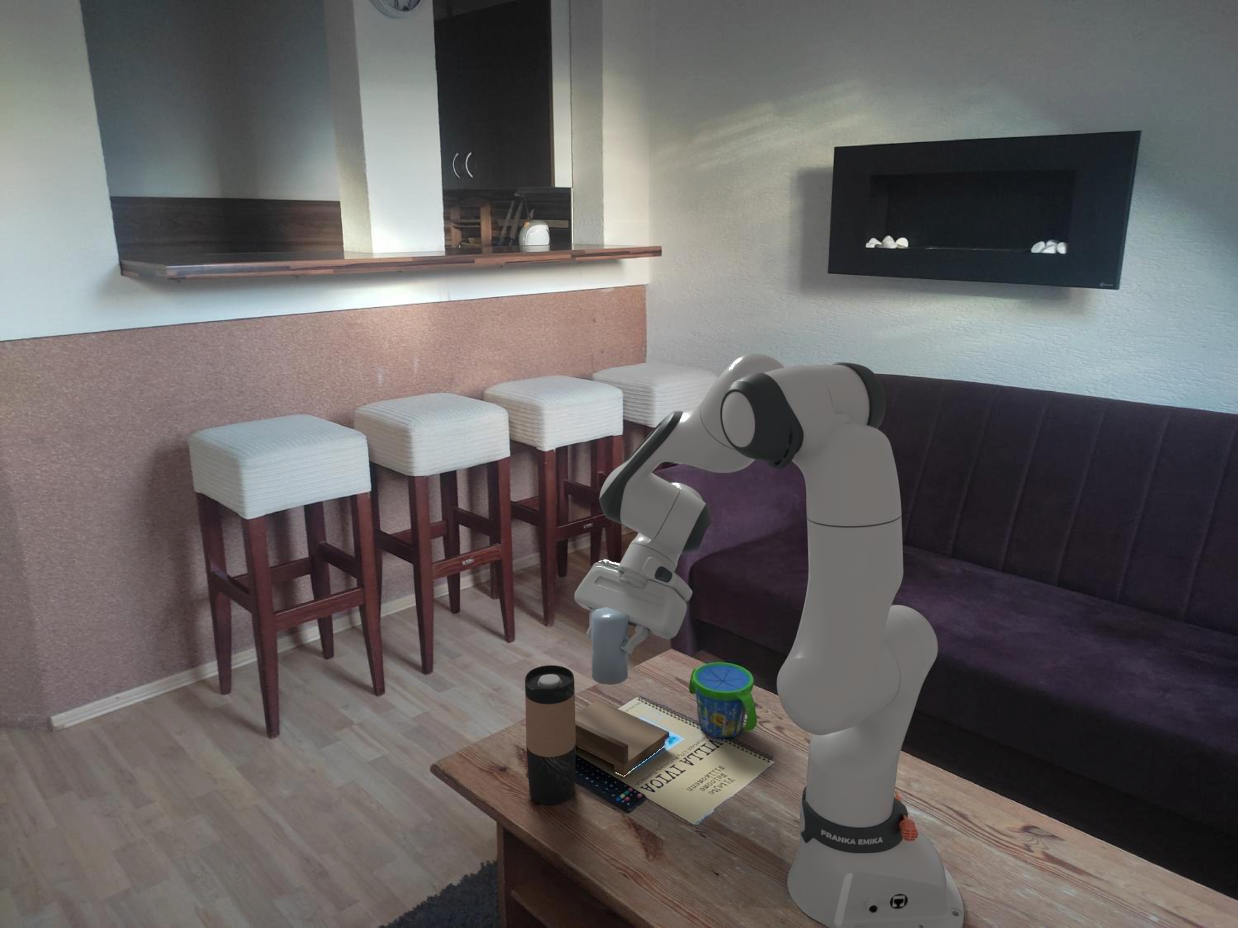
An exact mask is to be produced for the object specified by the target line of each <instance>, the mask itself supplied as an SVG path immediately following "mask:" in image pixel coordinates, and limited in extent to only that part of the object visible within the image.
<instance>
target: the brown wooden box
mask: <svg viewBox="0 0 1238 928" xmlns="http://www.w3.org/2000/svg"><path fill="white" fill-rule="evenodd" d="M575 730H576V748H579V749H582V750H584V751H585V752H588V753H589V754H590V755H591V754H592V755H593V756H595V757H598V758H600V759H601V760H603V761H606V762H608V763H609V764H612V765H614V766H613V767H614V769H613V771H615V772H617V773H619V774H621V775H623V776H624V775H626V774H627V773H628V772H629V771H631V770H632V769H633V768H635V767H636V766H638V765H639V764H641V763H642V762H643V761H645V760H646V759H648V758H649V757H650V756H652V755H653V754H654V753H656V752H657V751H658V750H659V749H661V748H662V747H663V746H664V745H665V746H666V744H665V743H666V740H667V739H669V738H670V731H669V730H666V729H663V728H662V727H660V726H657V725H655V724H652V723H650V722H649V721H646V720H644V719H641V718H639V717H637V716H635V715H632V714H630V713H628V712H626V711H624V710H622V709H619V708H617V707H614V706H612V705H610V704H608V703H605V702H603V701H601V700H599V699H597V700H595V701H594V702H592V703H591V704H589V705H587V706H586V707H583V708H582V709H580V710H579V711H578V712H575Z"/></svg>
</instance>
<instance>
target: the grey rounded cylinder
mask: <svg viewBox="0 0 1238 928" xmlns="http://www.w3.org/2000/svg"><path fill="white" fill-rule="evenodd" d="M624 639H626V640H628V639H629V625H628V615H627V614H624V613H622V612H619V611H616V610H613V609H611V608H608V607H604V608H600V609H597V610H595V611H594V612H593V613H592V639H591V678H592V680H593V681H595V682H597V683H599V684H602V685H609V686H610V685H611V686H612V685H618V684H622V683H623V682H625V681H626V680H627V679H628V676H629V670H628V669H629V654H627V653H625V652H623V651H622V650H620V646H621V644H622V642H623V640H624Z"/></svg>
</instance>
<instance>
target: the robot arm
mask: <svg viewBox="0 0 1238 928" xmlns="http://www.w3.org/2000/svg"><path fill="white" fill-rule="evenodd" d="M886 401H887V400H886V394H885V390H884V387H883V384H882V382H881V381H880V378H879V377H878V376H877V374H876V373H874V371H873V370H872V369H870V368H868V367H867V366H864V365H861V364H859V363H854V362H853V363H852V362H846V361H842V362H841V361H840V362H839V361H838V362H833V363H832V362H831V363H829V364H811V365H804V364H797V365H791V366H786V367H785V366H784V365H783V364H782V363H780V361H778V360H777V359H775V358H774V357H772V356H770V355H767V354H763V353H755V352H754V353H747V354H743V355H741V356H739V357H737V358H736V359H735V360H733V362H731V363H730V364H728V366H727V367H726V368H725V369H724V370H723V372H722V373H721V374H720V375H719V376H718V378H717V379H716V380H715V381H714V382H713V384H712V386H711V387H710V388H709V389H708V391H707V393H706V394H705V396H704V398H703V399H702V401H701V403H700V404H698V405H697V406H695V407H693V408H691V409H688V410H684V411H681V410H680V411H679V410H678V411H672V412H671V413H669V414H668V415H667V416H665V417H664V418H663V419H662V420H661V421H660V422H659V423H658V424H657V425H656V426H655V427H654V428H653V429H652V430H651V431H650V432H649V434H648V435H647V436H646V437H645V438H644V439H643V440H642V442H641V443H640V444H639V445H638V446H637V447H636V448H635V449H634V450H633V451H632V453H631V454H630V455H629V456H628V457H627V458H626V459H625V460H624V461H622V463H620V464H619V466H618V467H616V468H615V469H614V470H613V471H611V473H609V475H608V476H607V478H606V479H605V481H604V483H602V484H603V485H602V487H601V489H600V493H599V497H598V501H599V505H600V507H601V511H602V513H603V515H604V516H605V518H606V519H607V520H610V521H612V522H615V523H617V524H620V525H622V526H625V527H627V528H629V529H631V530H633V531H635V532H637V535H636V536H635V537H634V538H633V540H632V541H631V542H630V544H629V545H628V548H627V549H626V551H625V553H624V555H623V557H622V559H621V561H620V562H615V561H611V560H610V559H607V558H605V559H603V560H598V561H597V562H595V563H593V565H592V566H591V568H590V570H589V572H587V574H586V576H584V578H583V579H582V581H581V582H580V584H579V585H578V587H577V589H576V590H575V592H574V601H575V602H576V603H577V604H578V606H580V607H581V608H583V609H585V610H587V611H590V612H589V614H588V616H589V617H588V618H589V620H588V621H589V622H588V624H589V627H587V630H586V632H585V636H586V637H587V638H589V640H592V613H593V612H594V611H595V610H597V609H600V608H604V607H608V608H611V609H613V610H616V611H619V612H622V613H624V614H627V615H628V626H630V627H633V628H634V632H635V633H634V634H633V635H631V637H630V638H628V640H626V639H624V640H623V642H622V644H621V646H620V650H622V651H623V652H625V653H627V654H628V655H632V654H633V651H634V650H635V649H636V646H638V645H640V644H641V643H642V642H643V641H645V640H646V639H647V637H648V636H649V633H650V634H652V635H655V636H657V637H659V638H662V639H664V640H668V641H669V640H671V639H673V638H675V637H676V636H677V635H678V633H679V631H680V628H681V627H682V625H683V622H684V619H685V617H686V614H687V611H688V610H687V609H688V605H687V603H686V602H688V601H690V600H691V598H692V595H693V590H692V589H691V588H690V586H689V585H688V584H687V583H686V582H685V580H684V579H682V578H681V577H680V576H679V574H677V573H676V572H675V571H676V569H677V566H678V562H679V558H680V556H681V555H687V554H690V553H694V552H697V551H699V550H700V547H701V543H702V542H703V539H704V536H705V534H706V532H707V530H708V529H709V527H710V525H711V524H712V523H713V518H712V514H711V510H710V508H709V505H708V504H707V503H706V502H705V501H704V500H703V497H702V496H701V494H700V493H699V492H698V491H697V490H696V489H694V488H693V487H691V486H689V485H687V484H685V483H680V482H669V481H667V480H665V479H663V478H662V477H660V476H658V475H656V474H655V473H653V472H654V470H655V469H657V467H658V466H659V465H660V464H662V463H666V462H667V463H668V462H669V463H677V464H682V465H688V466H691V467H695V468H698V469H701V470H703V471H704V470H705V471H707V472H711V473H717V474H718V473H719V474H725V473H726V474H727V473H729V474H730V473H734V472H738V471H741V470H743V469H746V468H747V467H749V466H750V465H751V464H752V463H753V462H755V461H759V462H764V463H766V464H767V465H769V466H770V467H771V468H774V469H775V470H776V469H777V470H779V471H780V470H783V469H785V468H787V466H789V465H790V464H791V462H793V464H795V465H796V466H797V467H798V469H799V471H801V473H802V475H803V478H804V482H805V492H806V493H805V495H806V497H805V498H806V502H805V505H806V522H807V523H806V525H807V550H808V553H807V555H808V556H807V557H808V579H807V588H806V594H805V599H804V605H803V608H802V613H801V617H800V622H799V625H798V628H797V633H796V637H795V639H794V642H793V645H792V647H791V649H790V652H789V653H788V655H787V656H786V657H787V658H786V659H785V660H784V663H783V664H782V666H781V667H780V669H779V671H778V675H777V678H776V690H777V695H778V699H779V703H780V705H781V707H782V709H783V710H784V712H785V714H786V715H787V717H788V718H789V719H790V721H792V722H793V723H794V724H795V725H796V726H797V727H798V728H800V729H801V730H803V731H804V732H806V733H809V734H811V737H810V740H809V743H808V744H809V745H808V754H807V755H808V756H807V757H808V758H807V771H806V782H805V783H806V785H805V786H804V789H803V791H802V797H801V802H800V809H799V832H800V837H799V842H798V848H797V849H796V850H797V851H796V855H795V856H794V860H793V863H792V865H791V868H790V869H789V871H788V874H787V879H786V883H787V890H788V893H789V895H790V897H791V898H792V900H793V902H794V903H795V905H796V906H797V907H798V908H799V909H800V910H801V911H802V912H804V914H806V915H807V916H808V917H810V918H812V919H813V920H815V921H816V922H819V923H820V924H822V925H824V926H826V927H828V928H963V927H964V920H965V911H964V909H965V908H964V905H963V904H964V903H963V900H962V896H961V893H960V891H959V888H958V886H957V883H956V882H955V879H954V878H953V876H952V874H951V873H950V872H949V870H948V869H947V868H946V867H945V865H944V864H943V861H942V858H941V856H940V854H939V852H938V850H937V848H936V846H935V845H934V843H933V842H932V840H931V839H930V838H929V837H928V836H927V835H926V834H925V833H924V832H922V831H920V830H918V829H917V827H916V823H915V822H914V820H911V819H908V818H909V812H908V809H907V807H906V805H905V804H904V803H903V802H902V800H901V796H900V795H899V793H898V792H897V791H896V783H897V774H898V767H899V766H898V765H899V759H900V755H901V750H902V746H903V744H904V741H905V738H906V734H907V732H908V729H909V726H910V722H911V721H912V717H913V713H914V711H915V707H916V705H917V701H918V698H919V695H920V693H921V690H922V687H923V685H924V682H925V680H926V677H927V676H928V674H929V671H930V670H931V668H932V667H933V665H934V663H935V661H936V658H937V657H938V652H939V647H938V646H939V645H938V638H937V635H936V633H935V630H934V628H933V627H932V625H931V623H930V622H929V621H928V620H927V619H926V618H925V616H923V615H922V614H921V613H920V612H918V611H917V610H915V609H914V608H911V607H909V606H906V605H902V604H901V605H900V604H893V601H894V599H895V597H896V594H897V593H898V591H899V589H900V587H901V585H902V581H903V579H904V578H903V577H904V556H903V555H904V553H903V552H904V551H903V550H904V549H903V524H902V519H903V518H902V502H901V501H902V500H901V492H900V484H899V476H898V471H897V470H898V469H897V466H896V460H895V457H894V454H893V453H894V452H893V449H892V446H891V442H890V440H889V438H888V437H887V436H886V435H885V434H884V433H883V432H882V431H881V430H879V427H880V426H881V425H882V423H883V421H884V417H885V414H886V408H887V406H886V404H887V403H886Z"/></svg>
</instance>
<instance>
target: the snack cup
mask: <svg viewBox="0 0 1238 928" xmlns="http://www.w3.org/2000/svg"><path fill="white" fill-rule="evenodd" d="M754 683H755V679H754V676H753V675H752V673H751V672H750V671H749V670H748V669H746V668H744V667H743V666H740V665H739V664H738V665H737V664H734V663H729V662H710V663H706V664H705V663H704V664H703V665H701V666H699V667H695V668H693V670H692V673H691V675H690V679H689V683H688V691H689V693H690V694H691V695H695V699H696V701H695V702H696V709H697V716H698V717H697V718H698V724H699V728H700V729H702V731H703V733H706V734H708V735H709V736H711V737H712V738H716V739H717V738H724V739H726V738H731V737H733V738H734V737H736V736H737V735H738V734H739V733H740V732H741V730H742V729H743V726H744V729H743V731H745V732H747V733H748V732H750V731H752V730H753V729H754V728H756V726H757V723H758V716H757V712H756V711H757V710H756V704H755V700H754V697H753V694H752V693H751V692H752V691H753V688H754ZM746 716H747V717H746ZM745 717H746V721H745ZM744 722H745V725H744Z"/></svg>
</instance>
